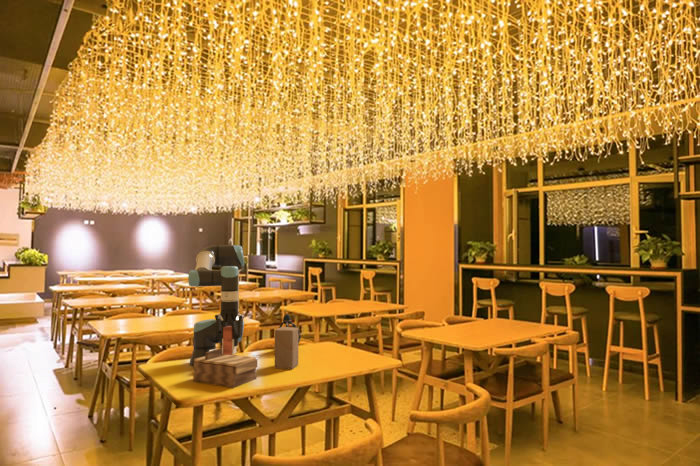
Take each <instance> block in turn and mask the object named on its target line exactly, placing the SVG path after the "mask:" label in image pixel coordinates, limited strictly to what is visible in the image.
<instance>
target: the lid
mask: <svg viewBox="0 0 700 466" xmlns="http://www.w3.org/2000/svg"><path fill="white" fill-rule="evenodd" d="M216 349H217V350H213V351H209V352H206V353H205V356H203V357H199V358H196V359H194V361H197V362H204V363H212V364H219V365H227V366H234V367H235V375H238V374H240V373H243V372H246V371H249V370H251V369H254V368H256V369H257V368H258V359H257V358H256V357H255V356H245V355H238V354H233V355H223V354H222V347H221V348H216Z"/></svg>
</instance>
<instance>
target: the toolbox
mask: <svg viewBox="0 0 700 466" xmlns="http://www.w3.org/2000/svg"><path fill="white" fill-rule="evenodd" d="M192 380H193V382H194V383H195V382H196V383H199V384H200V383H202V384H208V385H213V386H220V387H225V388H232V389H234V388H237V387H239V386H242V385H244V384H247V383H249V382H251V381H254V380H257V368H254V369H251V370H249V371H246V372H243V373H240V374H238V375H235V367H234V366H227V365H219V364H212V363H204V362H197V361H196V362H194V366H193V379H192Z"/></svg>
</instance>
